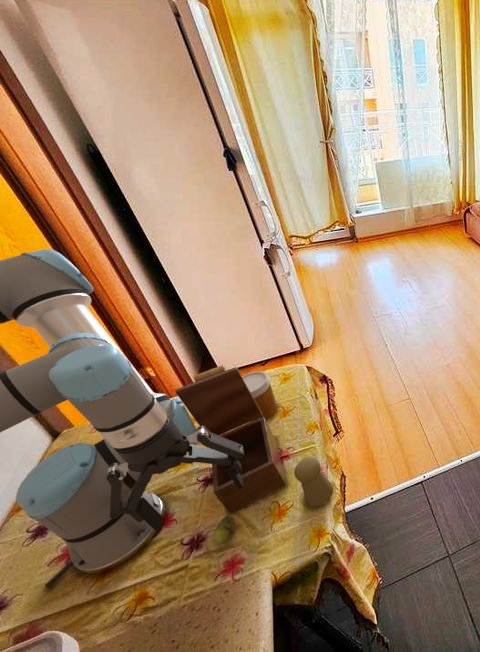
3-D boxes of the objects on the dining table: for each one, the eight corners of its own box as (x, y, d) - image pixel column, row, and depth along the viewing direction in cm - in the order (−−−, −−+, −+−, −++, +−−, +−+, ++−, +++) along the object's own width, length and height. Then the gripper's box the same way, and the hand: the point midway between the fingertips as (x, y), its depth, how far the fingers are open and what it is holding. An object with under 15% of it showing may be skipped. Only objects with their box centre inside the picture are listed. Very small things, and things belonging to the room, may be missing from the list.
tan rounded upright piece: (323, 475, 87) (310, 447, 81) (338, 490, 83) (325, 462, 78) (300, 495, 83) (284, 467, 77) (314, 512, 80) (299, 483, 74)
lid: (236, 369, 82) (234, 353, 86) (175, 392, 77) (175, 374, 81) (263, 416, 91) (259, 400, 96) (209, 439, 86) (208, 422, 91)
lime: (216, 551, 74) (205, 540, 71) (217, 530, 78) (207, 517, 75) (240, 540, 76) (230, 528, 73) (240, 519, 79) (231, 507, 77)
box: (286, 485, 85) (273, 462, 81) (230, 514, 80) (213, 492, 76) (275, 438, 97) (263, 416, 92) (226, 461, 92) (210, 439, 87)
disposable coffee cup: (248, 406, 107) (231, 377, 100) (282, 395, 110) (268, 366, 104) (246, 430, 100) (228, 400, 93) (283, 417, 103) (268, 387, 96)
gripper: (28, 493, 50) (117, 562, 62) (229, 409, 61) (273, 481, 72) (44, 454, 56) (123, 524, 67) (226, 383, 66) (268, 454, 78)
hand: (201, 502), depth 70 cm, fingers open, 13 cm apart
